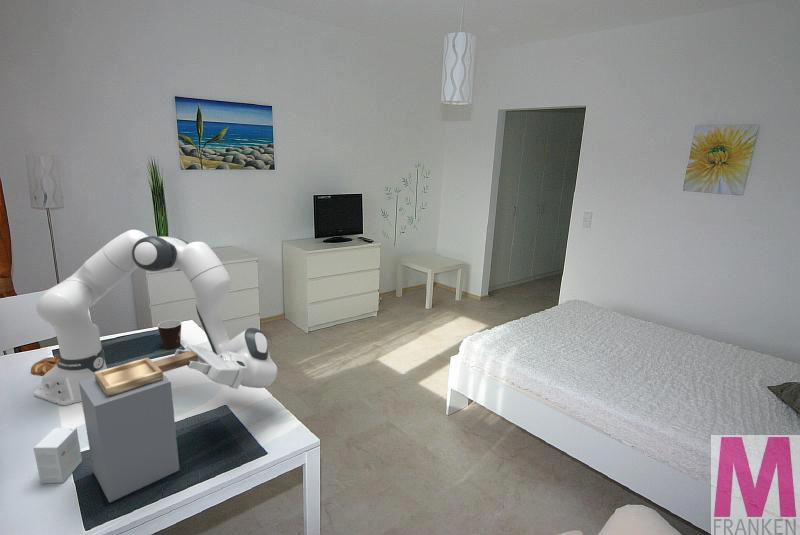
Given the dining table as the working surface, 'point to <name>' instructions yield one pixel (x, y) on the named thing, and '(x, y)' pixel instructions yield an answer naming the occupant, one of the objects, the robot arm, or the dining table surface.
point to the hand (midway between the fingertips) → (182, 358)
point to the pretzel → (44, 366)
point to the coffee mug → (170, 334)
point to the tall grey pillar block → (130, 435)
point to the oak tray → (139, 372)
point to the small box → (58, 455)
